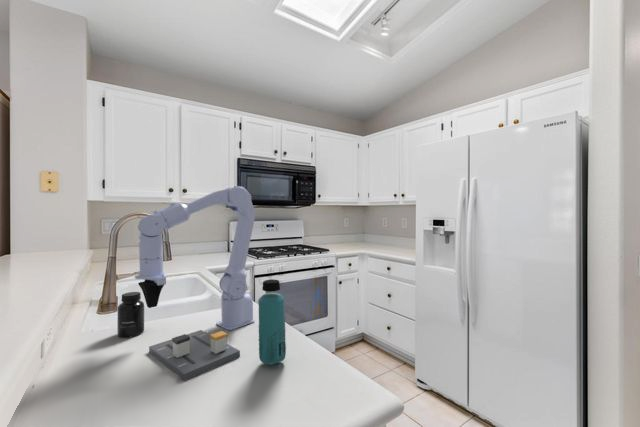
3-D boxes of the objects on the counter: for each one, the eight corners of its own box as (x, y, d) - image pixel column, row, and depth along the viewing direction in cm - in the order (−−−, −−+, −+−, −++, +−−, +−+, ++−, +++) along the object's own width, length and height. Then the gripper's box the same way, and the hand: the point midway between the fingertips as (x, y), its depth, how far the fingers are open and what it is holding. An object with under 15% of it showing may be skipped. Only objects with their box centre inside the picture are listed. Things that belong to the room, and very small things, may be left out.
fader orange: (221, 346, 77) (221, 330, 77) (227, 349, 76) (227, 333, 76) (210, 350, 75) (209, 334, 75) (215, 354, 73) (215, 337, 73)
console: (200, 335, 89) (200, 329, 89) (239, 356, 75) (239, 350, 75) (149, 352, 78) (149, 346, 78) (184, 380, 65) (184, 373, 65)
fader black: (185, 349, 76) (185, 334, 76) (190, 353, 74) (190, 336, 74) (172, 354, 73) (172, 338, 73) (176, 358, 72) (176, 341, 71)
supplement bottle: (123, 340, 85) (122, 298, 85) (113, 334, 89) (113, 294, 89) (148, 332, 91) (148, 293, 91) (138, 327, 95) (138, 289, 95)
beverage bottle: (281, 372, 68) (280, 284, 68) (253, 369, 69) (252, 283, 69) (289, 358, 74) (289, 277, 74) (264, 356, 76) (263, 276, 75)
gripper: (126, 257, 86) (127, 304, 86) (145, 263, 76) (146, 316, 76) (153, 254, 91) (153, 299, 91) (173, 259, 82) (174, 309, 82)
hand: (152, 306), depth 84 cm, fingers closed
